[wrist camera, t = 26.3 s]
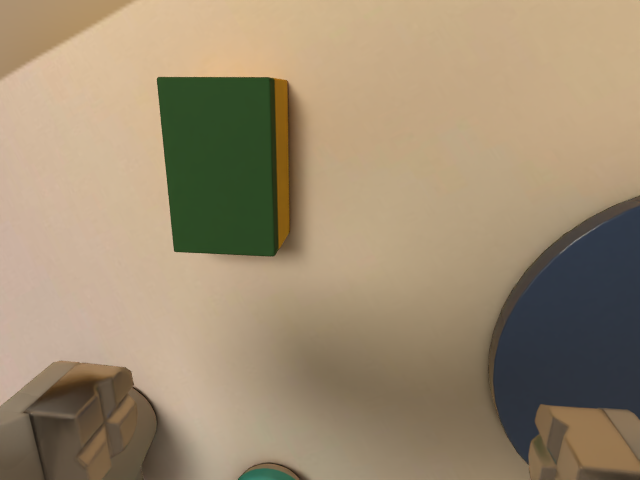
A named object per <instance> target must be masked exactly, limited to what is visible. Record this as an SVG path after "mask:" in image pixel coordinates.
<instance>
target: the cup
mask: <svg viewBox="0 0 640 480" xmlns="http://www.w3.org/2000/svg"><path fill="white" fill-rule="evenodd" d="M128 394H129V395H130V396H131V397H132V398H133V400H134V401H135V402H136V403H137V411H138V417H137V426H136V429H135V431H134V434H133V437H132V440H131V441H130V443H129V444H128V446H127V447H126V449H125V450H124V451H123V452H121V453H119V454H117V455H116V456H114V457H112V458H111V467H112V469H111V470H110V471H109V473H108V474H107V476H106V477H105V478H104V480H144V479H143V473H142V469H141V465H142V463H143V460H144V458H145V456H146V454H147V451H148V449H149V447H150V444H151V442H152V440H153V438H154V435H155V433H156V427H157V421H156V416H155V413H154V411H153V409H152V407H151V405H150V403H149V402H148V401H147V400H146V399H145V397H144V396H142V395H141V394H140V393H139V392H137V391H136V390H135V389H133V388H131V390H130V391H129V393H128Z"/></svg>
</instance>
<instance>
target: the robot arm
mask: <svg viewBox="0 0 640 480" xmlns="http://www.w3.org/2000/svg"><path fill="white" fill-rule="evenodd" d="M133 386H134V383H133V378H132V373H131V371H130V370H129V369H127V368H126V367H117V366H108V365H99V364H90V363H79V362H69V361H58V362H53V363H52V364H51V365H50V366H48V367H47V368H46V369H45V370H44V371H42V372H41V373H40V374H39V375H38V376H36V377H35V378H34V379H33V380H32V381H30V382H29V383H28V384H27V385H26V386H24V387H23V388H22V389H21V390H20V391H18V392H17V393H16V394H15V395H13V396H12V397H11V398H10V399H9V400H7V401H6V402H5V403H4V404H3V405H1V406H0V480H104V478H105V477H106V476H107V474H108V473H109V471H110V470H111V469H112V467H111V458H112V457H114V456H116V455H117V454H119V453H121V452H123V451H124V450H125V449H126V447H127V446H128V444H129V443H130V441H131V440H132V437H133V434H134V431H135V429H136V426H137V417H138V411H137V403H136V402H135V401H134V400H133V398H132V397H131V396H130V395H129V394H128V393H129V391H130V390H131V388H132V387H133ZM535 424H536V426H537V428H538V430H539V433H540V434H539V435H537V436H536V437H535V438H534V439H533V440H531V443H530V449H529V455H528V459H529V473H530V478H531V480H640V420H639V419H638V417H637V416H636V415H635V414H634V413H633V412H631V411H629V410H626V409H609V408H598V409H594V408H582V407H570V406H558V405H546V404H540V406H539V408H538V410H537V413H536V418H535Z"/></svg>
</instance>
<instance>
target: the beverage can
mask: <svg viewBox="0 0 640 480" xmlns="http://www.w3.org/2000/svg"><path fill="white" fill-rule="evenodd" d="M238 480H300V479H299V478H298V477H297V476H296V475H295V474H294V473H293V472H292V471H290V470H289V469H287V468H285V467H282V466H280V465H276V464H261V465H257V466H254V467H252V468H250V469H248V470H247V471H246V472H245V473H244V474H243V475H242V476H241V477H240V478H239V479H238Z"/></svg>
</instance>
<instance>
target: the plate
mask: <svg viewBox="0 0 640 480" xmlns="http://www.w3.org/2000/svg"><path fill="white" fill-rule="evenodd" d="M488 370H489V381H490V390H491V394H492V397H493V401H494V405H495V408H496V411H497V414H498V416H499V419H500V421H501V423H502V426H503V428H504V430H505V433H506V435H507V437H508V438H509V440H510V442H511V443H512V445H513V446H514V448H515V449H516V451H517V453H518V454H519V455H520V456H521V457H522V458H523V459H524V461H525V462H526V463H527V464H528V465H529V459H528V455H529V449H530V443H531V440H533V439H534V438H535V437H536V436H537V435H539V434H540V433H539V430H538V428H537V426H536V424H535V418H536V413H537V410H538V408H539V406H540V404H546V405H558V406H570V407H582V408H594V409H598V408H609V409H626V410H629V411H631V412H633V413H634V414H635V415H636V416H637V417H638V419H639V420H640V196H638V197H635V198H632V199H630V200H627V201H625V202H622V203H619V204H617V205H614V206H612V207H610V208H608V209H606V210H604V211H602V212H600V213H599V214H597V215H595V216H593V217H591V218H589V219H587V220H586V221H584V222H583V223H581V224H580V225H578V226H577V227H575V228H574V229H572V230H571V231H569V232H567V233H566V234H565V235H563V236H562V237H561V238H560V239H559V240H557V241H556V242H555V243H554V244H553V245H551V246H550V247H549V248H548V249H547V250H545V251H544V252H543V253H542V255H541V256H540V257H539V258H538V259H537V260H536V261H535V262H534V263H533V264H532V265H531V266H530V267H529V268H528V269H527V271H526V272H525V273H524V275H523V276H522V277H521V279H520V280H519V282H518V283H517V284H516V286H515V287H514V288H513V290H512V292H511V294H510V295H509V297H508V299H507V301H506V303H505V305H504V306H503V308H502V310H501V313H500V316H499V318H498V321H497V324H496V326H495V329H494V333H493V337H492V342H491V346H490V353H489V369H488Z"/></svg>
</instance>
